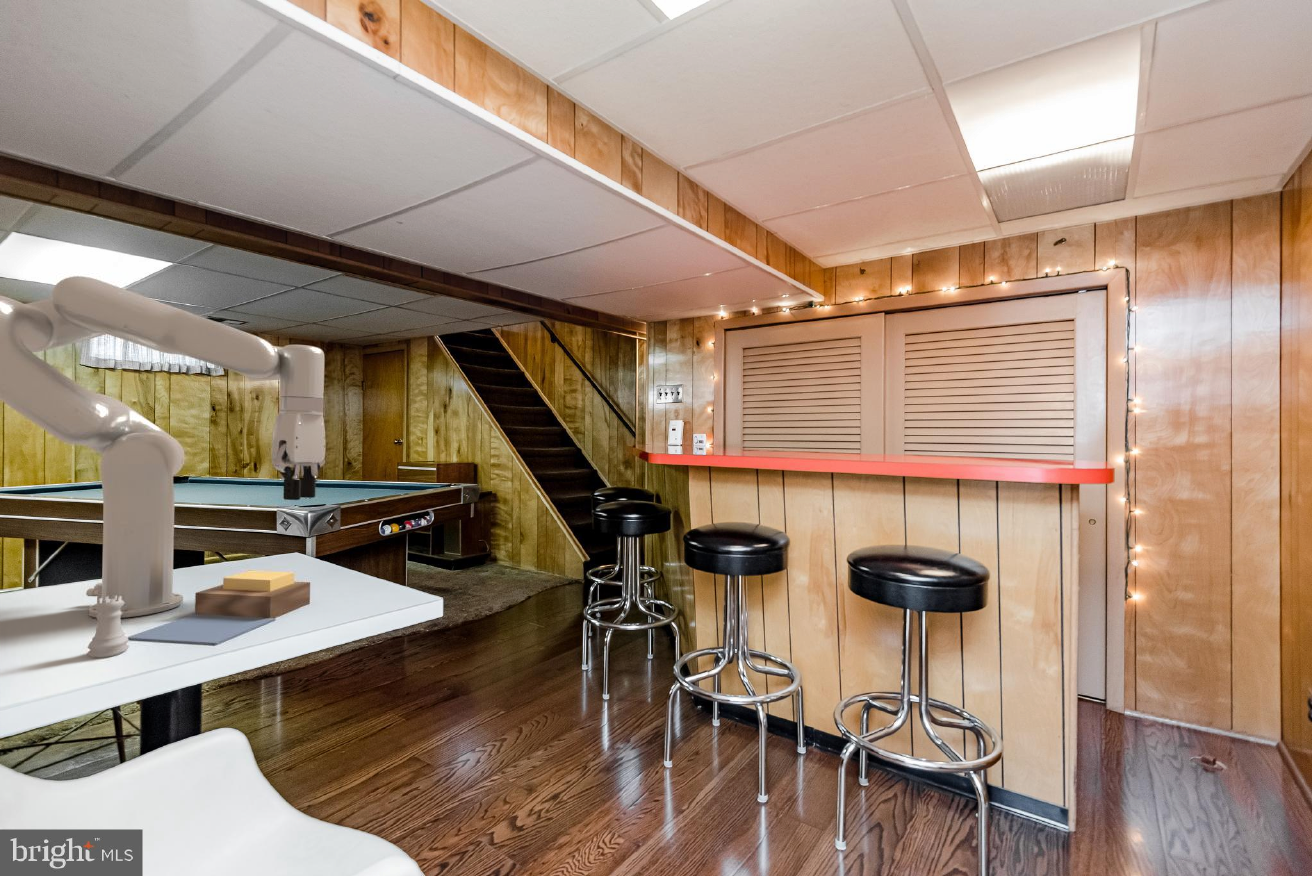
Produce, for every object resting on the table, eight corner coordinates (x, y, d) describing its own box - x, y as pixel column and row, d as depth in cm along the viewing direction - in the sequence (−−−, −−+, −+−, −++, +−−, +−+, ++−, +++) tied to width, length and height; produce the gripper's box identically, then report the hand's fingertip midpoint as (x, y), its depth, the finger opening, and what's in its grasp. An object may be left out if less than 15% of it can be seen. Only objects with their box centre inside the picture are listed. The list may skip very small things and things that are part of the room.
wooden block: (194, 615, 101) (195, 592, 101) (240, 599, 111) (241, 579, 111) (270, 619, 100) (270, 596, 100) (309, 603, 110) (310, 582, 110)
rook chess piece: (105, 647, 85) (106, 593, 85) (137, 647, 86) (138, 593, 86) (77, 659, 81) (78, 602, 81) (111, 659, 81) (113, 602, 81)
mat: (126, 639, 89) (126, 637, 89) (194, 615, 101) (194, 614, 101) (216, 644, 87) (216, 642, 87) (275, 620, 99) (275, 618, 99)
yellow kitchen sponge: (223, 589, 104) (223, 577, 104) (249, 580, 110) (249, 570, 110) (270, 591, 103) (270, 580, 103) (294, 583, 109) (294, 572, 109)
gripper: (312, 409, 125) (310, 494, 125) (252, 404, 108) (249, 502, 108) (345, 409, 124) (343, 495, 124) (289, 405, 107) (287, 503, 107)
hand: (299, 497), depth 116 cm, fingers open, 3 cm apart
